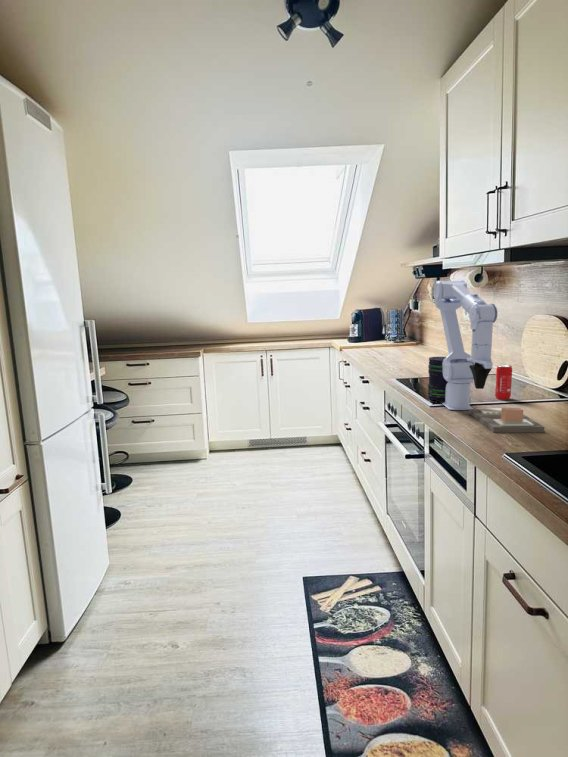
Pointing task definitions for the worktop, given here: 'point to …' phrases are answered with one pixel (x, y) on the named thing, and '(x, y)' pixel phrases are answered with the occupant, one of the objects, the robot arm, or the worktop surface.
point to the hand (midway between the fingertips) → (479, 388)
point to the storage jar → (436, 379)
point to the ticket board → (489, 414)
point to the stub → (512, 418)
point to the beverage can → (503, 382)
